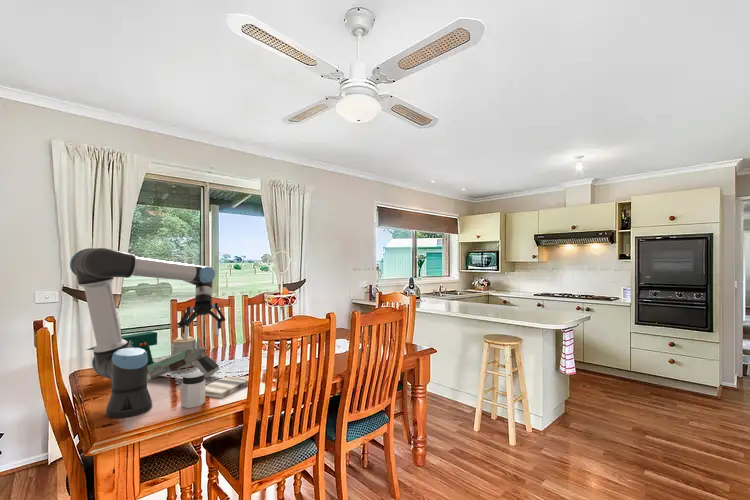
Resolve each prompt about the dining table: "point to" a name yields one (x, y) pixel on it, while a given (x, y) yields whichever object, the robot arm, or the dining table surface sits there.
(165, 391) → the dining table surface
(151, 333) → the power tool
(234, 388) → the board
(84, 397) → the dining table surface
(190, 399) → the jar
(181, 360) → the ray gun
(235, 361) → the dining table surface
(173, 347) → the jar
